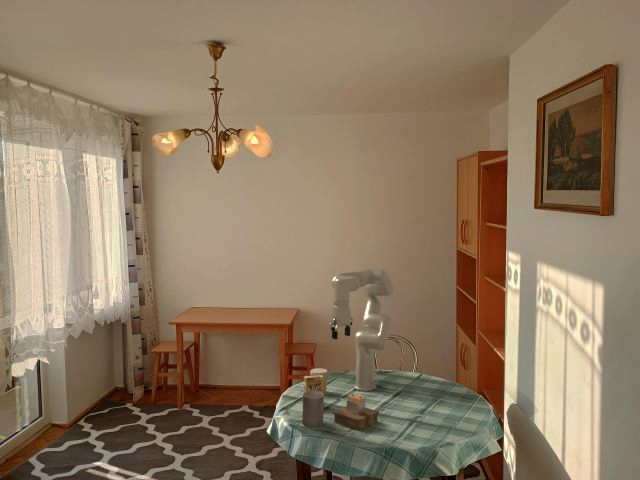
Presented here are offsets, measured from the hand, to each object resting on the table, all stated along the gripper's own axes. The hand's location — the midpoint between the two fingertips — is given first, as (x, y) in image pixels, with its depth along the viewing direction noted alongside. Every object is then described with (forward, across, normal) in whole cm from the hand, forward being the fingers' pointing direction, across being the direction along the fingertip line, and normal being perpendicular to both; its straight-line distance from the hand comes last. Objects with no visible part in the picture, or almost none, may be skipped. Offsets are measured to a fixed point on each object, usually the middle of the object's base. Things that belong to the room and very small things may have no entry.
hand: (341, 337), depth 288 cm
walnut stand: (+34, +12, +20) cm, 41 cm away
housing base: (+29, +12, +20) cm, 37 cm away
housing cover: (+24, +12, +20) cm, 34 cm away
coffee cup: (+34, -6, -20) cm, 40 cm away
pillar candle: (+34, +27, +7) cm, 44 cm away
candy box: (+34, +11, -8) cm, 37 cm away
